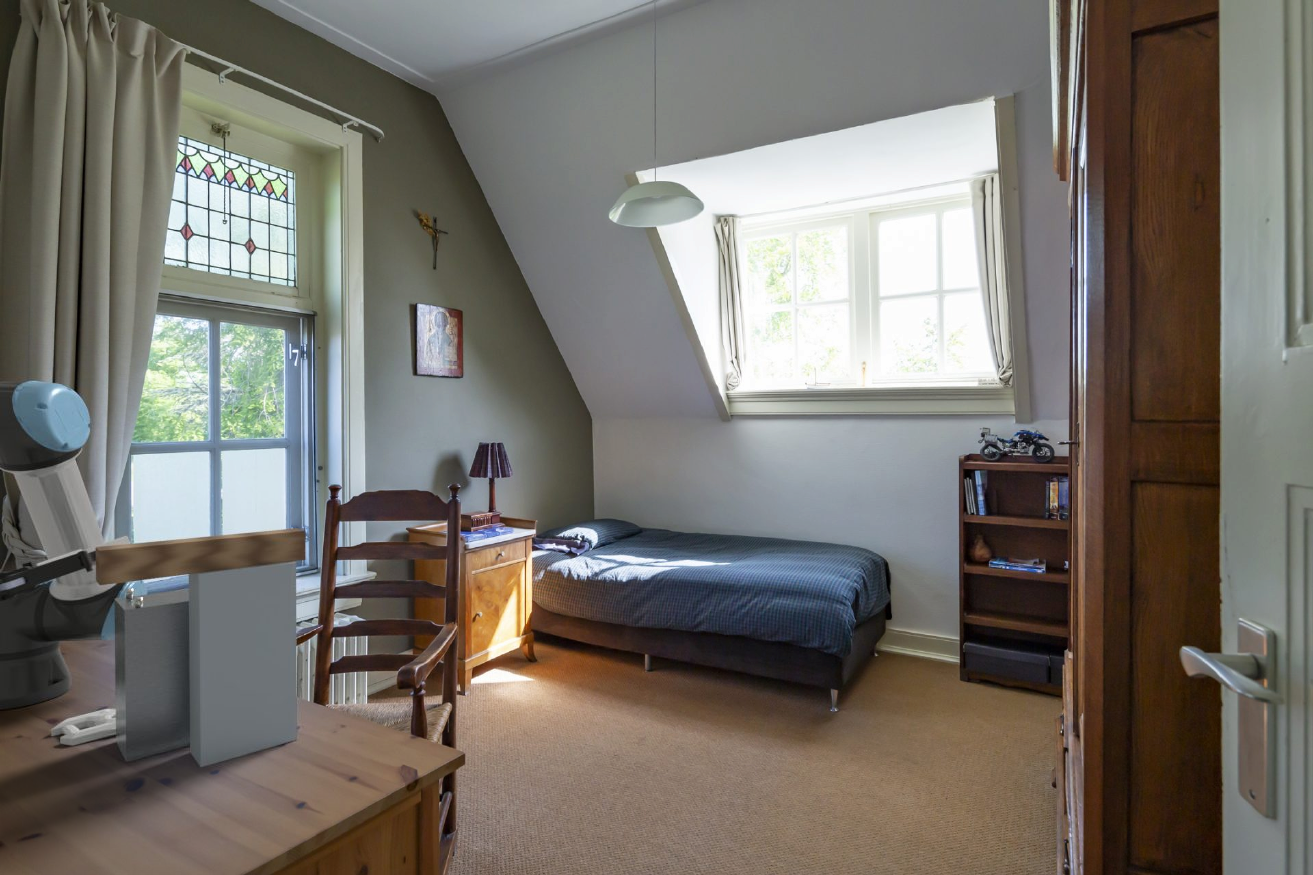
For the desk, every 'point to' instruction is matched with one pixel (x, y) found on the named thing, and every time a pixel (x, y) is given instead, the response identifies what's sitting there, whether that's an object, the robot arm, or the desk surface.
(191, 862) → the desk surface
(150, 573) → the rail
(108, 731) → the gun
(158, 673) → the plate
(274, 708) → the stand
